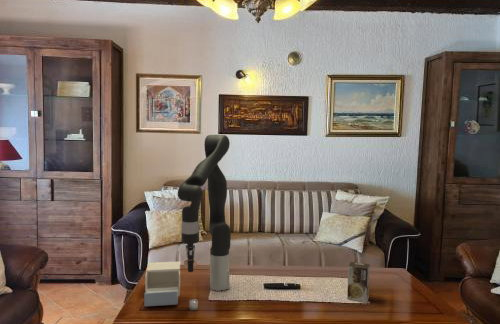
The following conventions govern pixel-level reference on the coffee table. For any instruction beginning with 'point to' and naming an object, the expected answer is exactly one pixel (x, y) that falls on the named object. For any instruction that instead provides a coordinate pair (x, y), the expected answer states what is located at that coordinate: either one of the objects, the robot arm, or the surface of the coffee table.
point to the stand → (193, 304)
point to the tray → (161, 296)
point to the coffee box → (358, 281)
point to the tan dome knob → (187, 263)
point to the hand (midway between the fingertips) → (190, 269)
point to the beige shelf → (162, 275)
